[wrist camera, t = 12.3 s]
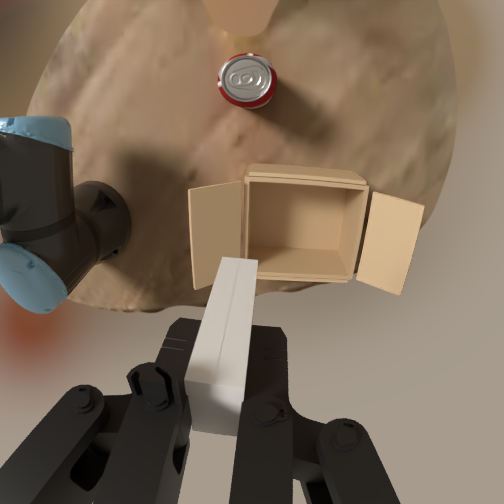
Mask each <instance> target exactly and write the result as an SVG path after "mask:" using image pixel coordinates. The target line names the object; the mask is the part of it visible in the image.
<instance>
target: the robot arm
mask: <svg viewBox="0 0 504 504" xmlns="http://www.w3.org/2000/svg"><path fill="white" fill-rule="evenodd" d="M73 150H74V149H73V148H72V137H71V125H70V123H69V121H68V120H67V119H65V118H63V117H56V116H23V117H11V118H0V229H1V234H2V238H3V243H1V244H0V283H1V285H2V286H3V288H4V289H5V291H6V292H7V293H8V294H9V295H10V296H11V298H13V299H14V300H15V301H16V302H17V303H18V304H19V305H21V306H22V307H24V308H25V309H27V310H29V311H32V312H34V313H39V314H46V313H49V312H51V311H53V310H54V309H55V308H56V307H57V306H58V305H59V304H60V303H61V302H63V301H64V300H66V298H67V297H68V295H69V294H70V293H71V292H72V291H73V289H74V288H75V287H76V286H77V285H78V283H79V282H80V281H81V280H82V279H83V278H84V276H85V275H86V274H87V273H88V272H89V271H90V270H91V268H92V267H93V266H94V265H97V264H100V263H103V262H105V261H108V260H111V259H112V258H114V257H115V256H117V255H118V254H119V253H120V252H121V251H122V250H123V248H124V247H125V246H126V244H127V243H128V240H129V238H130V233H131V219H130V214H129V211H128V209H127V206H126V204H125V202H124V201H123V199H122V198H121V196H120V195H119V194H118V193H117V192H116V191H115V190H114V189H113V188H111V187H110V186H108V185H106V184H104V183H102V182H98V181H86V182H83V183H81V184H79V185H77V186H75V187H73V162H72V152H74V151H73ZM257 267H258V260H252V259H241V258H230V257H222V260H221V263H220V266H219V269H218V272H217V275H216V278H215V281H214V285H213V288H212V291H211V294H210V297H209V300H208V303H207V306H206V310H205V313H204V316H203V319H202V320H195V319H187V318H179V319H178V320H176V321H175V322H174V323H173V324H172V325H171V326H170V328H169V330H168V332H167V335H166V338H165V339H164V342H163V344H162V348H161V349H160V351H159V354H158V357H157V359H156V361H155V363H151V362H148V363H144V364H140V365H138V366H136V367H135V368H133V369H131V371H130V372H129V373H128V375H127V376H126V377H127V379H128V382H129V385H130V388H131V391H132V393H131V394H126V395H108V396H107V395H106V396H103V394H102V392H101V391H100V390H98V389H97V388H96V387H93V386H91V385H79V386H75V387H73V388H71V389H70V390H69V391H68V392H66V394H65V395H64V396H63V397H62V398H61V399H60V400H59V401H58V402H57V403H56V405H55V406H54V407H53V408H52V409H51V410H50V412H48V414H47V415H46V416H45V417H44V418H43V419H42V420H41V422H40V423H39V424H38V425H37V426H36V427H35V428H34V429H33V430H32V432H31V433H30V434H29V435H28V437H26V439H25V440H24V441H23V442H22V443H21V444H20V446H19V447H18V448H17V449H16V450H15V452H14V453H13V454H12V455H11V456H10V457H9V459H8V460H7V461H6V462H5V464H4V465H3V466H2V467H1V468H0V504H92V503H93V504H177V503H178V498H179V493H180V489H181V484H182V479H183V475H184V470H185V465H186V460H187V456H188V451H189V447H190V442H189V433H190V429H191V424H192V430H194V431H200V432H207V433H214V434H222V435H230V436H237V442H236V451H235V459H234V467H233V475H232V483H231V492H230V499H229V504H292V503H293V502H292V501H293V500H292V499H293V479H296V480H299V481H300V483H301V486H302V489H303V492H304V496H305V499H306V502H307V504H400V502H399V499H398V497H397V495H396V493H395V491H394V488H393V486H392V484H391V482H390V479H389V477H388V475H387V473H386V471H385V469H384V466H383V464H382V462H381V460H380V458H379V456H378V454H377V452H376V449H375V447H374V445H373V443H372V441H371V439H370V437H369V435H368V433H367V431H366V430H365V428H364V427H363V426H362V425H361V424H359V423H358V422H356V421H355V420H351V419H347V418H342V419H335V420H333V421H330V422H328V423H327V424H324V423H320V422H317V421H313V420H310V419H307V418H305V417H303V416H301V415H299V414H298V413H297V412H296V411H295V410H294V409H293V408H292V406H291V404H290V402H289V397H288V362H287V338H286V336H285V334H284V332H283V331H282V329H281V328H280V327H270V326H257V325H252V320H253V311H254V299H255V289H256V278H257ZM93 501H94V502H93Z"/></svg>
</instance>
